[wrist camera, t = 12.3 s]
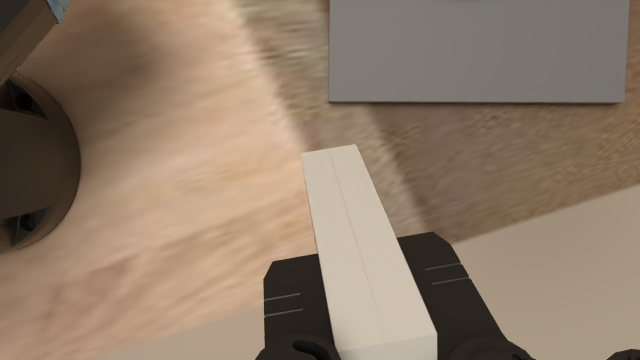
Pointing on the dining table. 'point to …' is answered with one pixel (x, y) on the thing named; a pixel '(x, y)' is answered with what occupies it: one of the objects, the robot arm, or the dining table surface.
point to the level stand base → (478, 51)
